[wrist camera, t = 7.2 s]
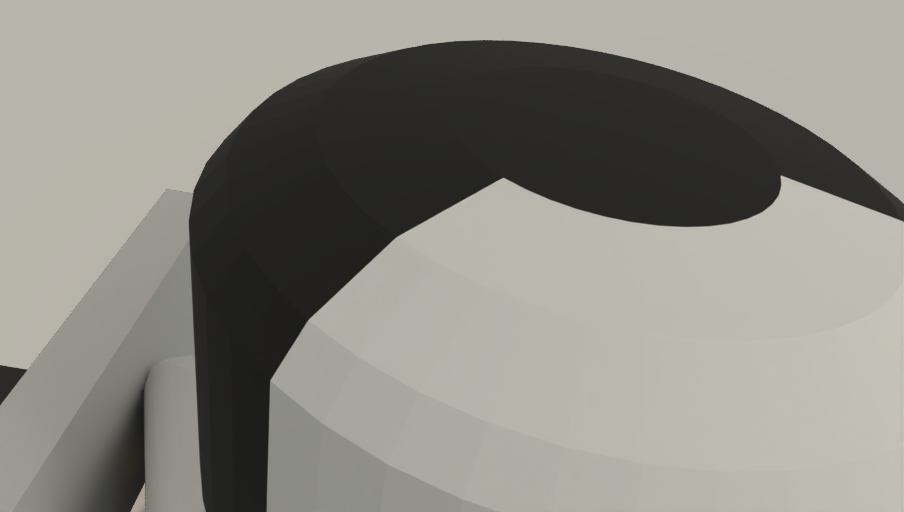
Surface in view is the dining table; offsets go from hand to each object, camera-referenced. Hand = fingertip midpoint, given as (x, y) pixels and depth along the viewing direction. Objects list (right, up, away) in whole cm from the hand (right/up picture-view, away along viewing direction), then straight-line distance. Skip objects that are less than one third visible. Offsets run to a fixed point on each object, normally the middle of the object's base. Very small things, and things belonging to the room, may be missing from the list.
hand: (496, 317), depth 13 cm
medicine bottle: (-1, -8, 0) cm, 8 cm away
